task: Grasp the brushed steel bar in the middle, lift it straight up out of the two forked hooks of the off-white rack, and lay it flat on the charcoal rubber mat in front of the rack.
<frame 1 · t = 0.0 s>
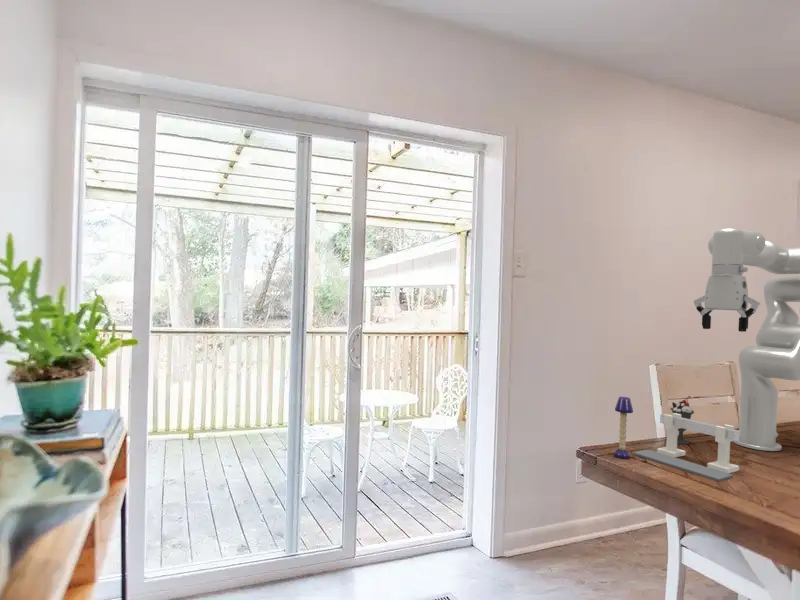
hand: (723, 330, 145), 37 cm above the table, tool pointing down, fingers open, 9 cm apart
sundae: (680, 442, 158), on the table
mat: (680, 465, 135), on the table
rail: (697, 426, 139), point 10 cm above the table, touching rack
rack: (695, 461, 139), on the table
toy lamp: (621, 456, 141), on the table
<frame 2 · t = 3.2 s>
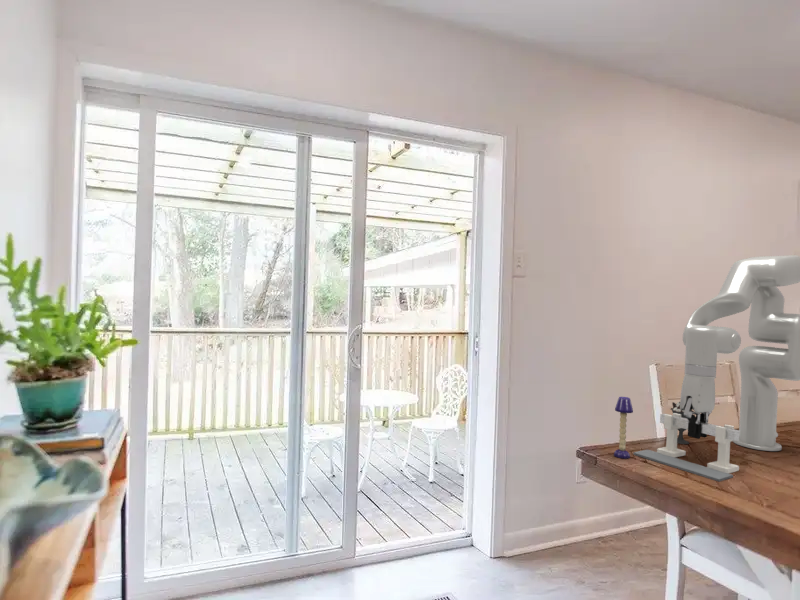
hand: (697, 436, 139), 7 cm above the table, tool pointing down, fingers closed on rail, 2 cm apart
rail: (697, 426, 139), point 10 cm above the table, touching gripper
everything else where it was.
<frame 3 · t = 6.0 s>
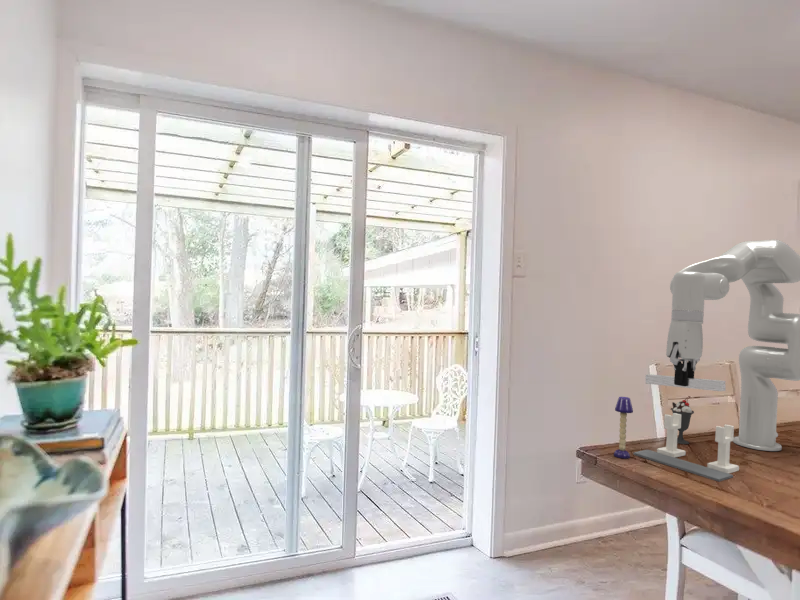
hand: (683, 384, 135), 22 cm above the table, tool pointing down, fingers closed on rail, 2 cm apart
rail: (683, 382, 135), point 23 cm above the table, touching gripper
everything else where it was.
when the fingers open (1 cm above the table, at t = 8.7 s): rail stays where it is, resting on mat.
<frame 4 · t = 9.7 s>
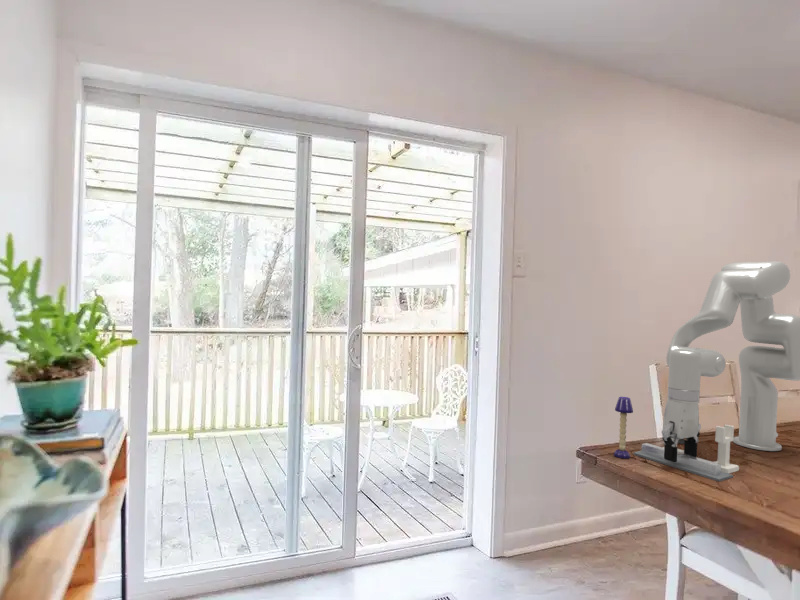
hand: (680, 458, 135), 2 cm above the table, tool pointing down, fingers open, 9 cm apart
rail: (678, 458, 135), point 2 cm above the table, touching mat
everything else where it was.
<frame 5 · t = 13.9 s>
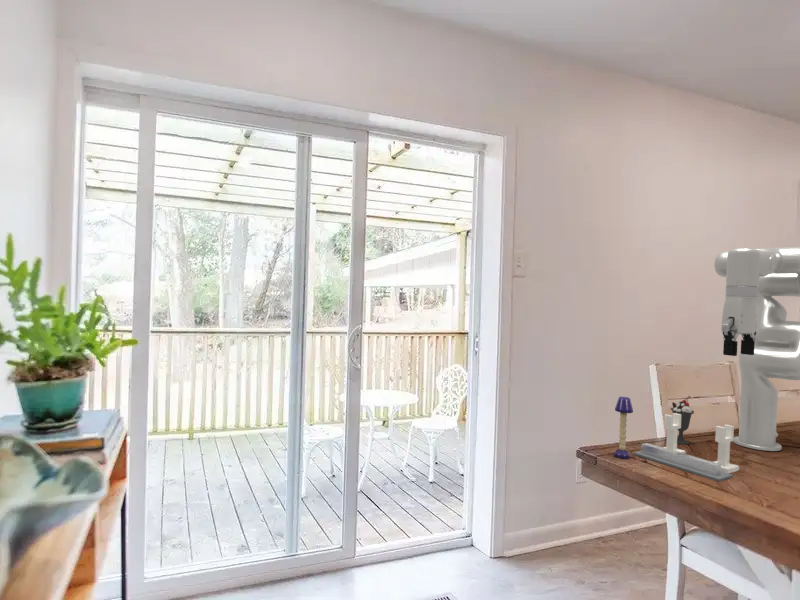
hand: (738, 354, 138), 30 cm above the table, tool pointing down, fingers open, 9 cm apart
nothing on the table moved.
at the end: rail inside the target area on the mat (0.4 cm from its centre), point 1.8 cm above the mat's base; rail touching mat; the gripper is holding nothing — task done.
